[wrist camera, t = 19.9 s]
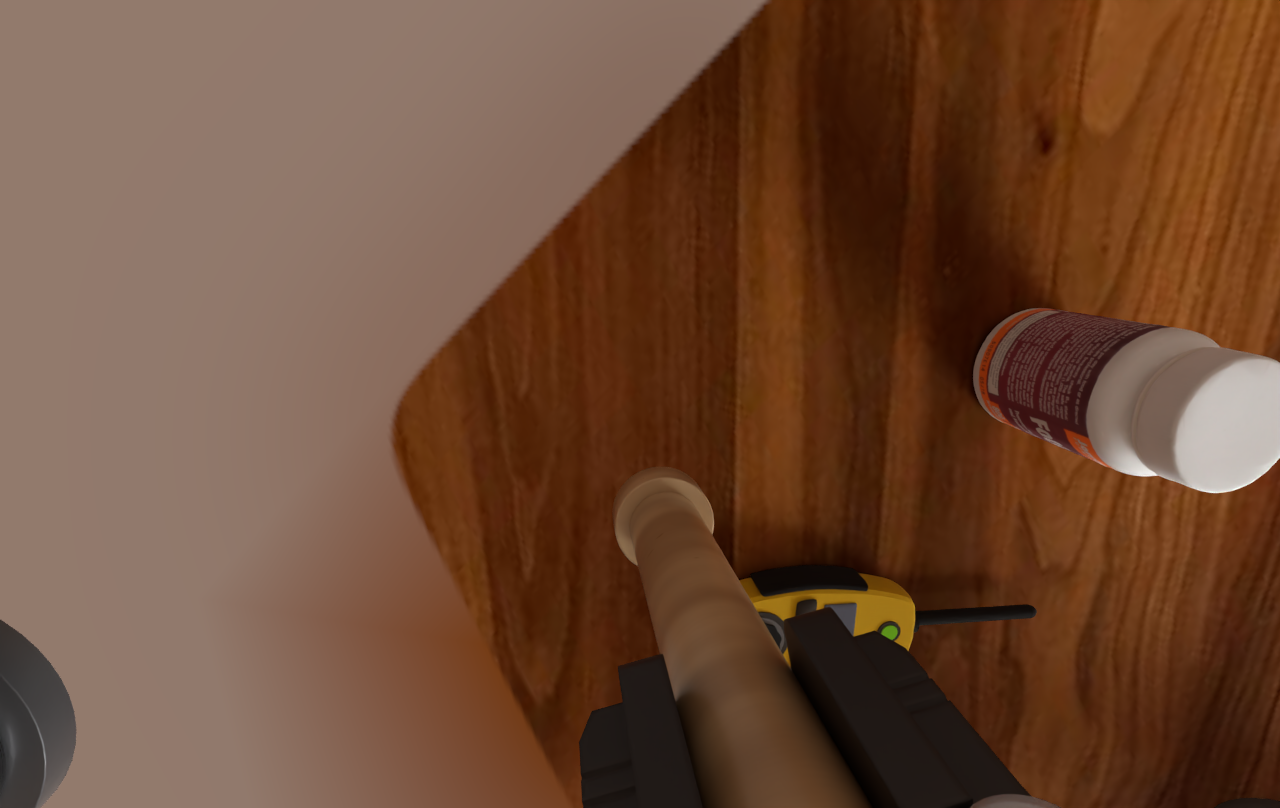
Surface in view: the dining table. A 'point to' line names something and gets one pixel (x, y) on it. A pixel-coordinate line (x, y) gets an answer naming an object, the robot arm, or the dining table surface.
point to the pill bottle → (1134, 396)
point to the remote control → (854, 603)
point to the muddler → (725, 660)
